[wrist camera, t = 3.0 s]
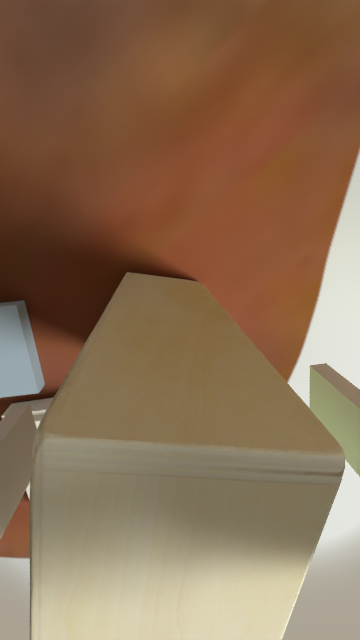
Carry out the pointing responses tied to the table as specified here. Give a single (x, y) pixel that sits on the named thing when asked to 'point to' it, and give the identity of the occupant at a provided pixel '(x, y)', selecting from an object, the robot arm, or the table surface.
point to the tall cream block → (174, 479)
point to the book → (18, 352)
